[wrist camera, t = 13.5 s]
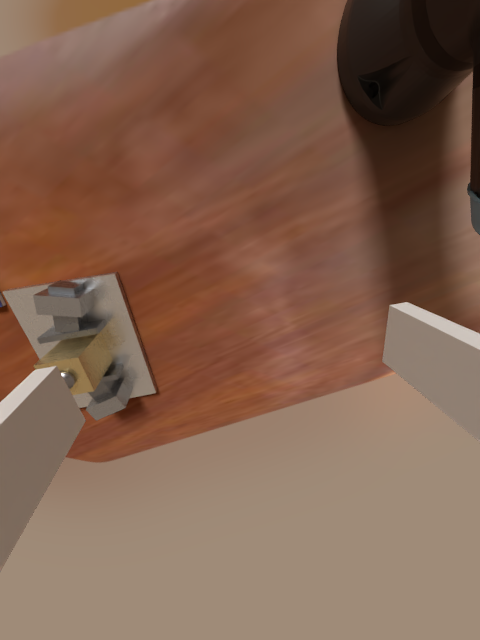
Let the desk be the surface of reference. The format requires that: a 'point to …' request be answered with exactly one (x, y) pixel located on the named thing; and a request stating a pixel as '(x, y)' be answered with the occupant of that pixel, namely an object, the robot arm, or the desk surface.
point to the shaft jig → (88, 333)
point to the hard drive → (2, 301)
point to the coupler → (79, 362)
